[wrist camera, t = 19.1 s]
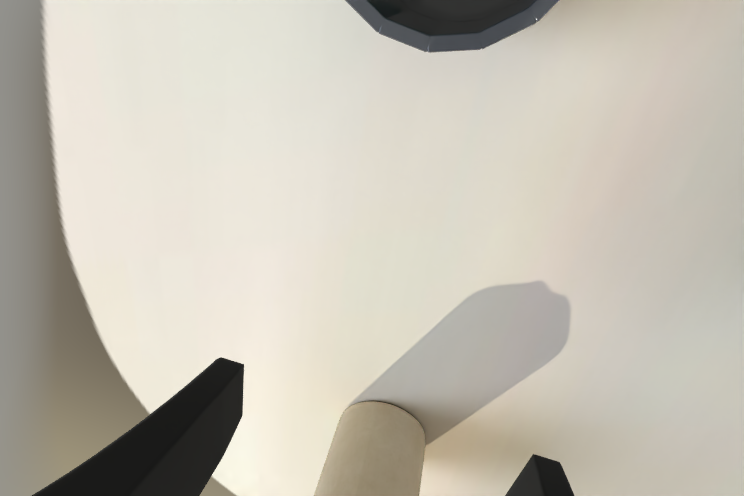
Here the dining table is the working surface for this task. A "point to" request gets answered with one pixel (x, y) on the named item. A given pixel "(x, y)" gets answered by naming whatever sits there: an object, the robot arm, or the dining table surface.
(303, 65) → the dining table surface
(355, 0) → the cup
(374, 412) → the candle
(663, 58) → the dining table surface
